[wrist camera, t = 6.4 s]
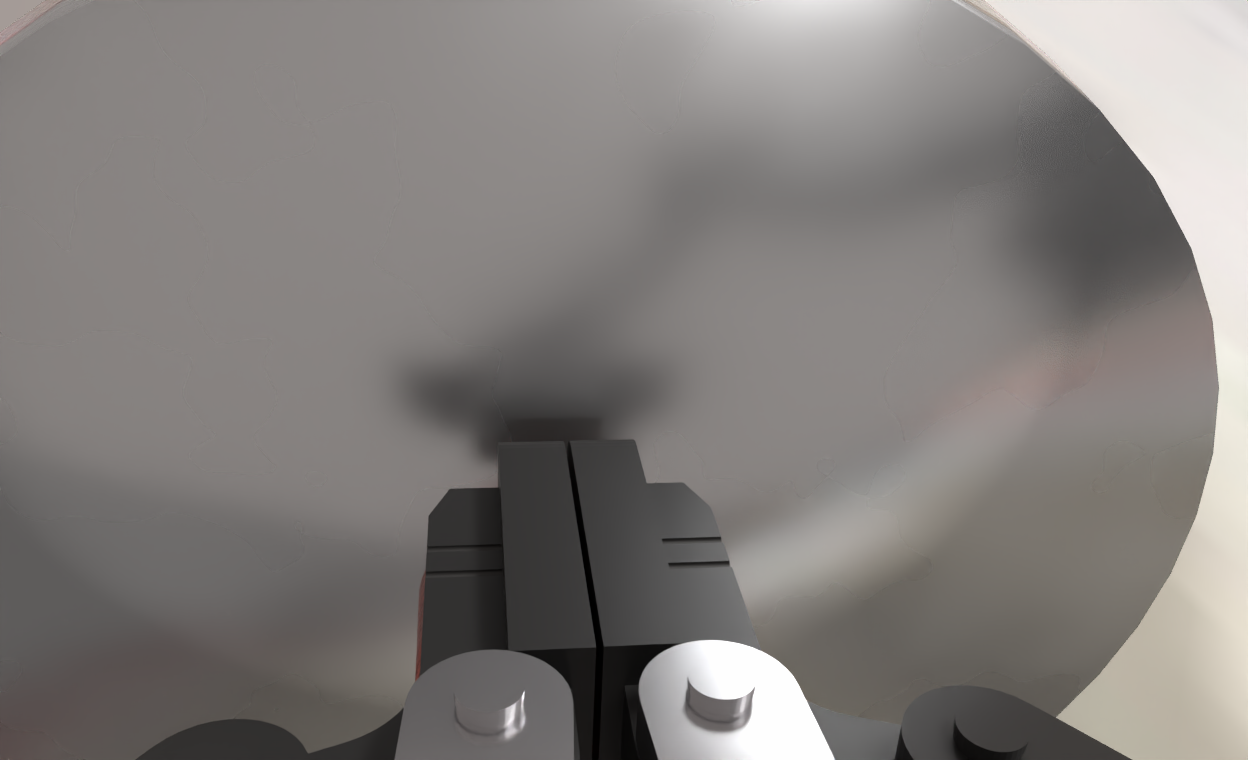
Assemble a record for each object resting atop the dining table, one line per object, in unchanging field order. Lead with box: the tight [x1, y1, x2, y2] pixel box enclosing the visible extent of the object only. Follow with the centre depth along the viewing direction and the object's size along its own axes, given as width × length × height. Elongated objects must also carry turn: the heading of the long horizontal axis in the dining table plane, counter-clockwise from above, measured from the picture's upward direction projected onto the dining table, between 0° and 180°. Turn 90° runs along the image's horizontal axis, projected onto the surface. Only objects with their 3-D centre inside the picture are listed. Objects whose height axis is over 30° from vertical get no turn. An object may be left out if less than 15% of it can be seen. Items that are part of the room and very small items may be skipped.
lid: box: [0, 0, 1219, 760], centre depth 15 cm, size 18×18×3 cm
